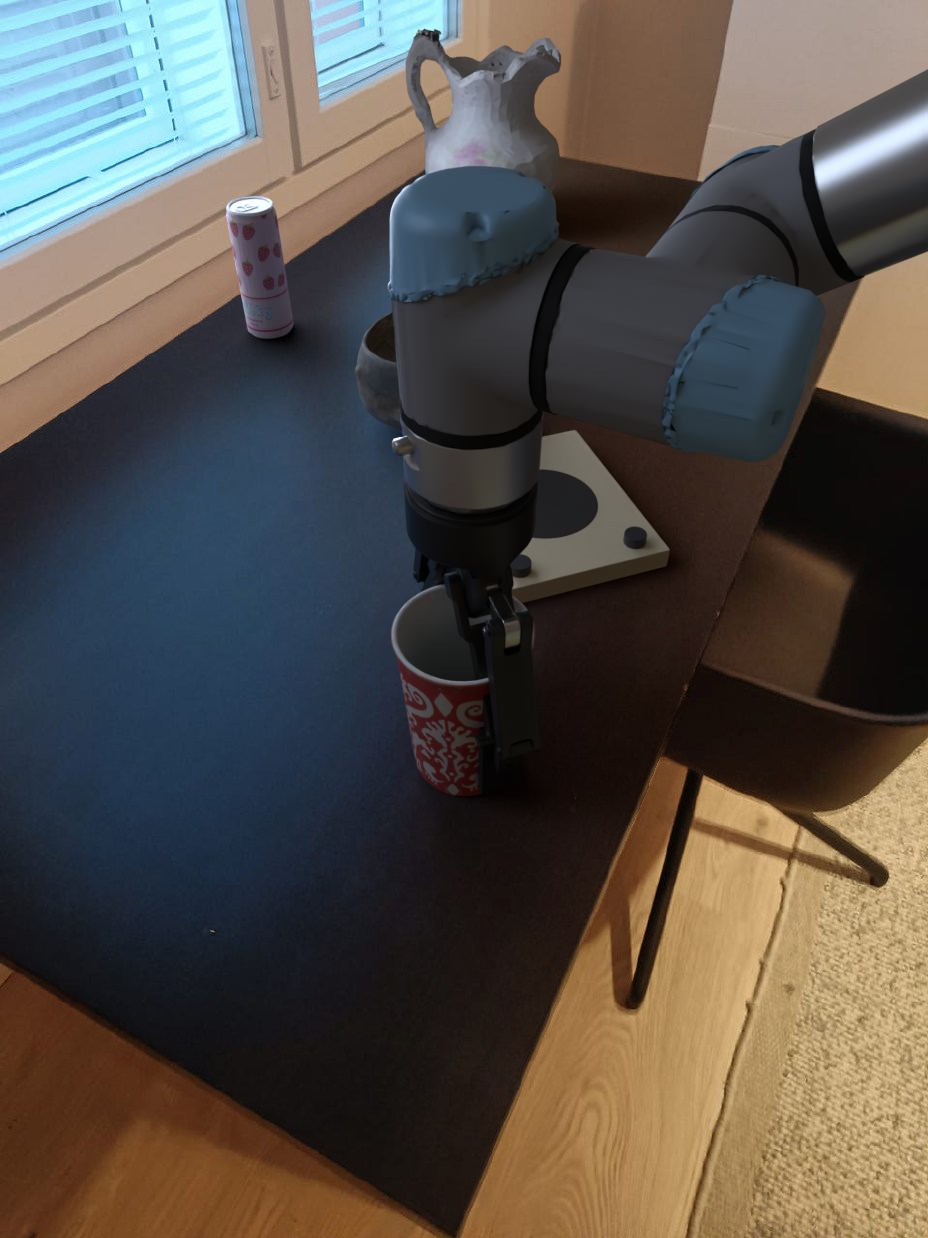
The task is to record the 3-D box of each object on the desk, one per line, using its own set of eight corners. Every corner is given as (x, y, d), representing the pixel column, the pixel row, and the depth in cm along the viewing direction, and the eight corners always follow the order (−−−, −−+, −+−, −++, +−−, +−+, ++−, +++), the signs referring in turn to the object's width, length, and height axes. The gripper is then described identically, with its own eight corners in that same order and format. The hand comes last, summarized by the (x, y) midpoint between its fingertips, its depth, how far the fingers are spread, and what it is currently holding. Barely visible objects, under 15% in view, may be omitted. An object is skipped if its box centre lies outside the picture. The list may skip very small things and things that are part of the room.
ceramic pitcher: (405, 257, 129) (395, 63, 109) (415, 194, 141) (407, 10, 122) (556, 259, 128) (572, 64, 109) (552, 196, 140) (566, 12, 121)
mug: (512, 821, 62) (520, 696, 52) (387, 795, 63) (372, 668, 54) (545, 685, 70) (556, 556, 61) (434, 665, 72) (428, 536, 62)
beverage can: (239, 335, 110) (214, 210, 100) (262, 314, 114) (240, 192, 103) (280, 343, 109) (259, 217, 98) (302, 322, 113) (284, 198, 102)
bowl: (490, 382, 102) (492, 298, 95) (490, 461, 91) (492, 373, 84) (369, 381, 103) (361, 297, 95) (354, 460, 92) (344, 372, 85)
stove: (666, 566, 80) (672, 540, 78) (500, 609, 76) (501, 583, 74) (574, 445, 93) (576, 420, 91) (428, 477, 90) (427, 452, 88)
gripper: (352, 385, 56) (378, 628, 72) (479, 634, 41) (476, 874, 57) (464, 364, 58) (465, 606, 74) (626, 596, 43) (584, 839, 58)
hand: (470, 723), depth 65 cm, fingers closed on mug, 11 cm apart
